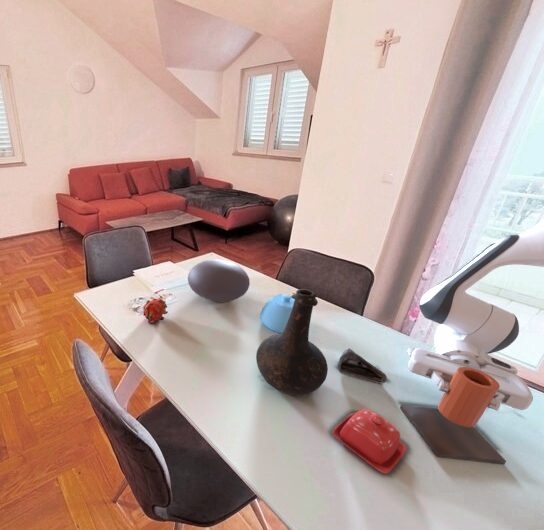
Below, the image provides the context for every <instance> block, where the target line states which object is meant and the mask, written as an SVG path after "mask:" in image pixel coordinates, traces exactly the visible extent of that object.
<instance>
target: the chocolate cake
mask: <svg viewBox="0 0 544 530" xmlns="http://www.w3.org/2000/svg"><path fill="white" fill-rule="evenodd" d="M337 371H338V372H339V373H340V374H342V375H345V376H349V377H352V378H356V379H359V380H360V379H361V380H363V381H368V382H372V383H376V384H382V385H383V384H385V383H386V382H387V380H388V376H387V375H386V373H385V372H384V371H381V370H380V369H378V368H377V367H376V366H374V365H373V364H371V363H370V362H369V361H368V360H366V359H365V358H363V357H362V356H361V355H359V354H358V353H356V352H355V351H354V350H353V349H351V348H350V347H347V348H346V349H345V350H344V351H343V353H341V356H340V357H339V359H338V364H337Z"/></svg>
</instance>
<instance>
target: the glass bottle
mask: <svg viewBox="0 0 544 530" xmlns="http://www.w3.org/2000/svg"><path fill="white" fill-rule="evenodd" d="M290 296H291V297H292V298H293V299H295V301H294V304H293V307H292V311H291V314H290V317H289V319H288V322H287V324H286V326H285V329H284V331H283V332H282V333H277V334H273V335H270V336H268V337H267V338H265V339H264V340H263V341H262V342H261V343H260V344H259V345H258V347H257V350H256V354H255V355H256V356H255V360H256V365H257V368H258V371H259V373H260V376H261V377H262V378H263V379H264V381H265V382H266V383H267V384H268V385H269V386H270V387H272V388H274V389H275V390H277V391H279V392H281V393H284V394H287V395H291V396H302V395H303V396H304V395H308V394H311V393H313V392H315V391H317V390H318V389H320V388H321V386H322V385H323V384H324V383H325V381H326V379H327V377H328V371H329V367H328V362H327V359H326V357H325V355H324V353H323V352H322V351H321V350H320V348H319V347H317V345H316V344H314V343H312V342H311V341H310V340H309V336H310V335H309V334H310V327H311V326H310V325H311V319H312V314H313V309H314V307H317V306H318V303H319V301H318V299H317V296H318V295H317V293H316V292H314V291H312V290H309V289H306V288H300V289H297V290H296V292H295V293H294V294H292V295H290Z"/></svg>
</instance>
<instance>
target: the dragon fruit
mask: <svg viewBox="0 0 544 530" xmlns="http://www.w3.org/2000/svg"><path fill="white" fill-rule="evenodd" d="M167 308H168V306H167V304H166V301H165V300H164V299H162V298H161V297H158V298H155V297H153V298H152V299H151V300H150V299H149V300H146V303H145V304H144V306H143V307H142V309H143V310H142V311H143V316H144V318H145V319H146V320H147V323H149V324H150V323H156V321H157V320H158V321H163V320H164V319H165V317H164V316H163V315H167V314H168V313H169V311H167Z"/></svg>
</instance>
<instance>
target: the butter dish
mask: <svg viewBox="0 0 544 530" xmlns="http://www.w3.org/2000/svg"><path fill="white" fill-rule="evenodd" d="M332 436H333V437H334V438H335V439H336V440H337V441H339V442H340V443H341V444H343V445H344V446H345V447H347V448H348V449H349V450H351V451H352V452H353V453H354V454H356V455H357V456H358V457H360V458H361V459H362V460H363V461H365V462H366V463H367V464H369V465H370V466H372V467H373V468H374V469H375V470H376V471H379V472H380V473H382V474H384V475H388V474H389V473H390V472H391V471H393V469H394V468H395V467H396V465H397V464H398V463H399V462H400V460H401V459H402V458H403V456H404V455H405V454H406V452H407V446H406V445H405V444H404V443H403V442H401V440H400V439H401V433H400V431H399V429H397V427H395V426H394V425H393V424H392V423H391V422H390V421H388V420H386V419H385V417H383V416H381V415H380V414H377V413H375V412H374V411H371V410H370V409H367V408H361V409H359V410H358V411H356V412H352V413H351V414H349V415H348V416H347V417H346V418H344V419H343V420H342V421H341V422H339V424H337V426H335V428H334V429H333V430H332Z"/></svg>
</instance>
